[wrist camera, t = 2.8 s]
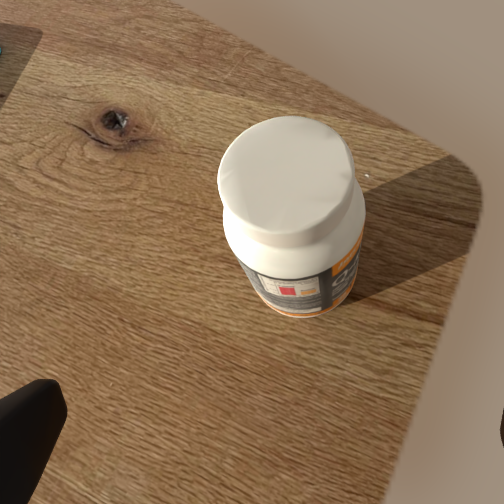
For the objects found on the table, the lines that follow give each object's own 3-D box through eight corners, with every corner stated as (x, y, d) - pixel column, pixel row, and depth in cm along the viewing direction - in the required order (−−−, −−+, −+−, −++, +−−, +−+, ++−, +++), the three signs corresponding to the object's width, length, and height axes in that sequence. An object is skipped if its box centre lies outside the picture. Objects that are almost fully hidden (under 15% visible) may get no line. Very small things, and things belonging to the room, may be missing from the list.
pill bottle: (360, 319, 22) (381, 245, 12) (250, 321, 23) (196, 254, 13) (352, 219, 24) (366, 94, 15) (253, 225, 25) (207, 111, 16)
